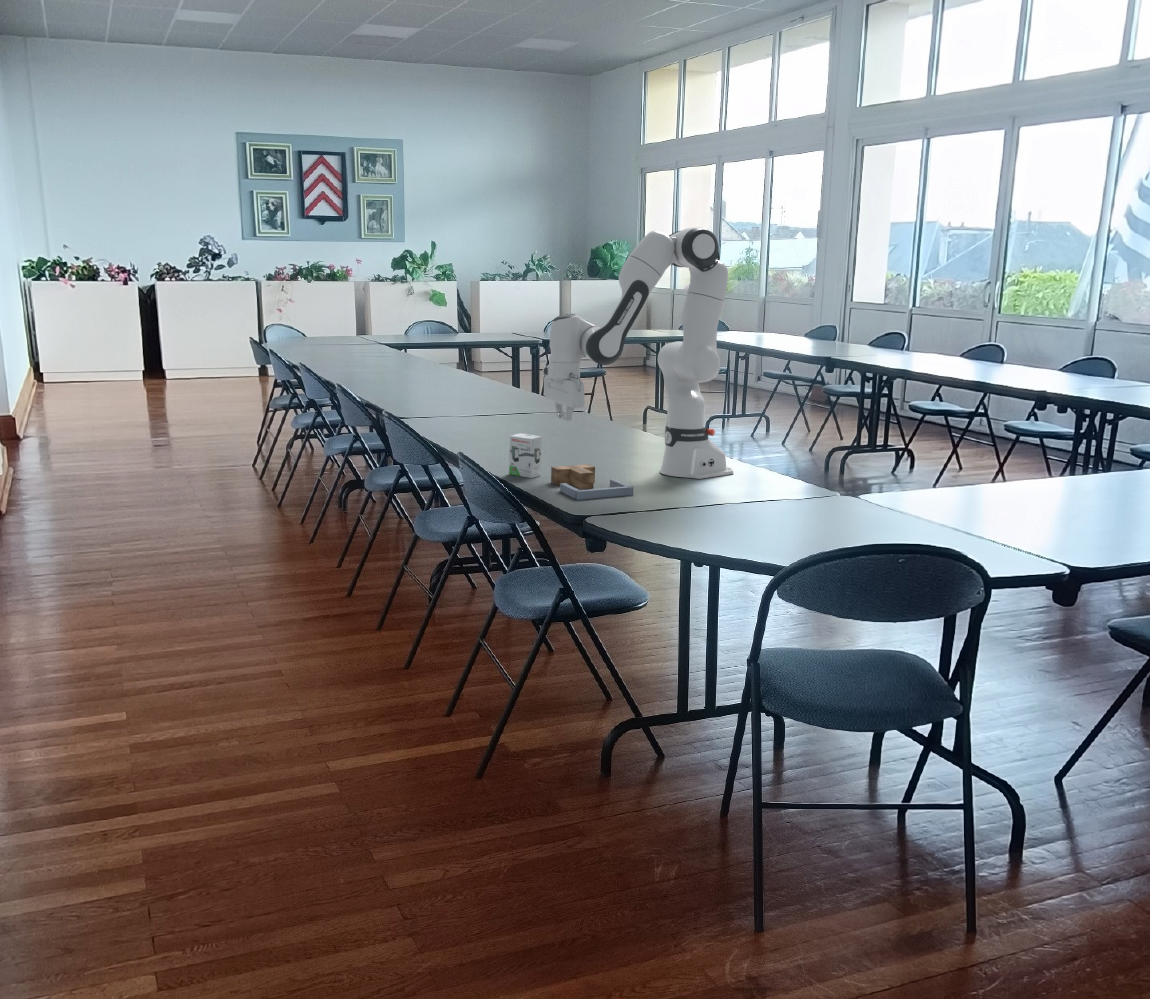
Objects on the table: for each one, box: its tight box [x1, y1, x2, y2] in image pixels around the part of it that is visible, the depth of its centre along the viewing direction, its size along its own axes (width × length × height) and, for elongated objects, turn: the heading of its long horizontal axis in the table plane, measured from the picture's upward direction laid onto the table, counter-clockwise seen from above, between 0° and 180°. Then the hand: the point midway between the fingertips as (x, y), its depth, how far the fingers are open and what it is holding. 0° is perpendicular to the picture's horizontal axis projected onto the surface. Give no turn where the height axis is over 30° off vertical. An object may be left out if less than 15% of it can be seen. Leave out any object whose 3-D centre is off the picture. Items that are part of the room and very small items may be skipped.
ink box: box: [508, 432, 543, 479], centre depth 310 cm, size 9×5×12 cm, turn 57°
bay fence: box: [559, 478, 635, 501], centre depth 289 cm, size 17×11×2 cm, turn 116°
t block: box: [550, 463, 596, 490], centre depth 299 cm, size 12×11×4 cm
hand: (563, 419), depth 305 cm, fingers open, 4 cm apart
